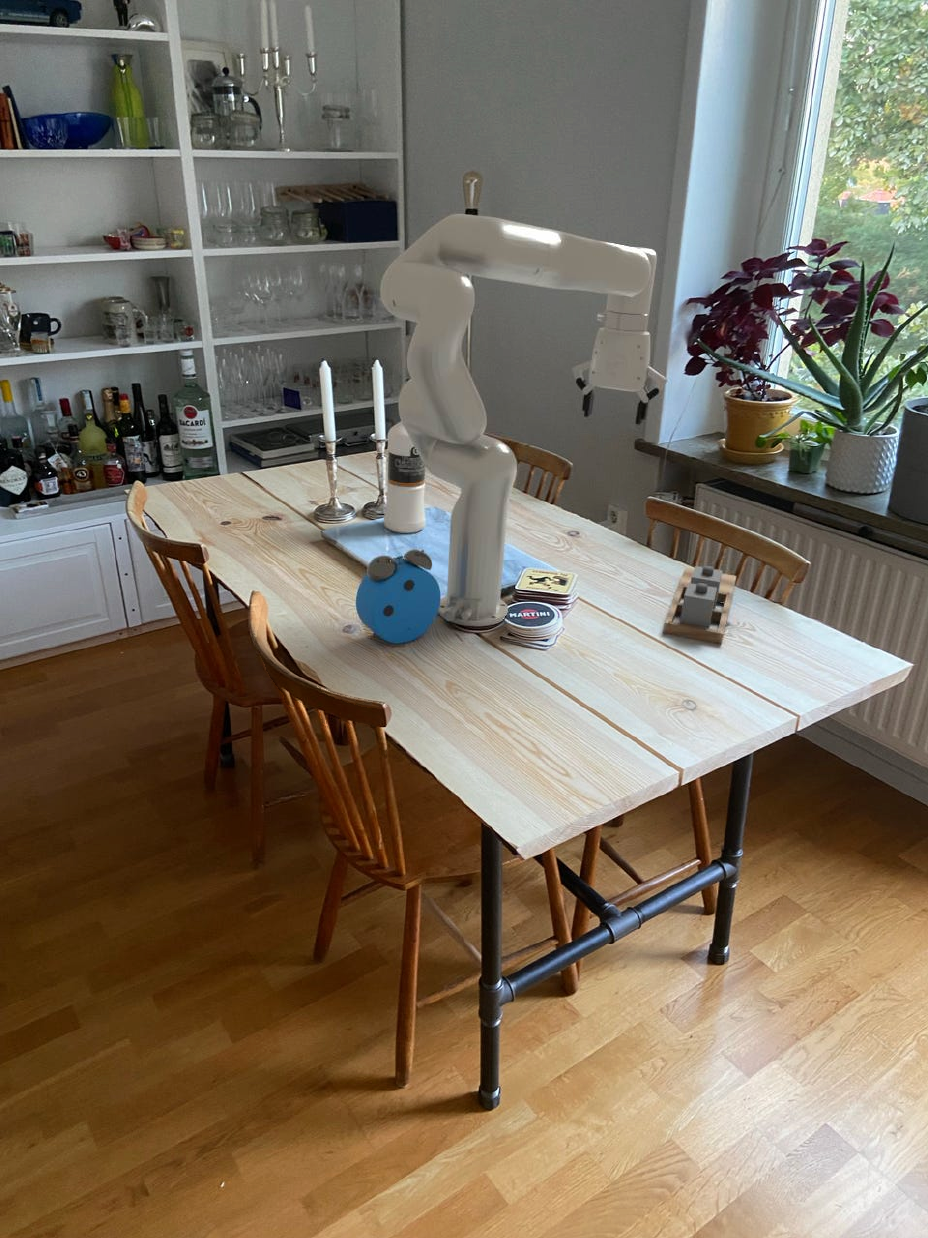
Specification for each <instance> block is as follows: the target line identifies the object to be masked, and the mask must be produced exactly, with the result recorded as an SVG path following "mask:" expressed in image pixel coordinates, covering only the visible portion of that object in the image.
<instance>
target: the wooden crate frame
mask: <svg viewBox="0 0 928 1238" xmlns="http://www.w3.org/2000/svg"><path fill="white" fill-rule="evenodd" d="M694 569H695V567H693V568H692V567H688V566H685V567H684V569H683V572H682V575H681V577H680V580H679V583H678V585H677V589H676V592H675V594H674V597H673V600H672V603H671V605H670V608H669V609H668V613H667V615H666V619H665V621H664V628H663V631H662V633H663V634H666V635H667V634H668V635H672V636H676V637H678V636H679V637H682V638H686V639H692V640H697V641H698V640H699V641H701V642H702V641H703V642H709V643H713V644H717V645H722V643H723V638H724V635H725V629H726V625H727V621H728V616H729V612H730V607H731V603H732V598H733V595H734V594H733V593H734V589H735V584H736V580H737V575H733V574H729V573H728V574H727V573H722V578H721V583H720V588H719V593H718V598H717V602H724V604H723V609H716V608H715V609H713V612H712V617H711V622H714V621H716V622H715V623H719V622H720V623H719V624H718V629H713V628H709V629H708V628H703V627H697V626H692V625H687V624H682V623H680V622H676V621H674V620H675V618H676V616H677V615H678V616H681V612H682V607H683V602H681V600H682V598H683V597H684V596H685V592H686V589H687V586H688V583H691V578H692V575H693V572H694Z"/></svg>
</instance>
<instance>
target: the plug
mask: <svg viewBox="0 0 928 1238" xmlns="http://www.w3.org/2000/svg"><path fill="white" fill-rule="evenodd" d="M716 591H717V588H715V587H709V586H708V585H707V584H704V583H697V584H692V583H688V586H687V589H686V592H685V596H683V602H682V603H683V607H682V612H681V615H680V619H679V623H682V624H687V625H692V626H697V627H703V628H708V629H710V627H711V622H712V621H711V617H712V612H713V607H714V602H715V596H716Z"/></svg>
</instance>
